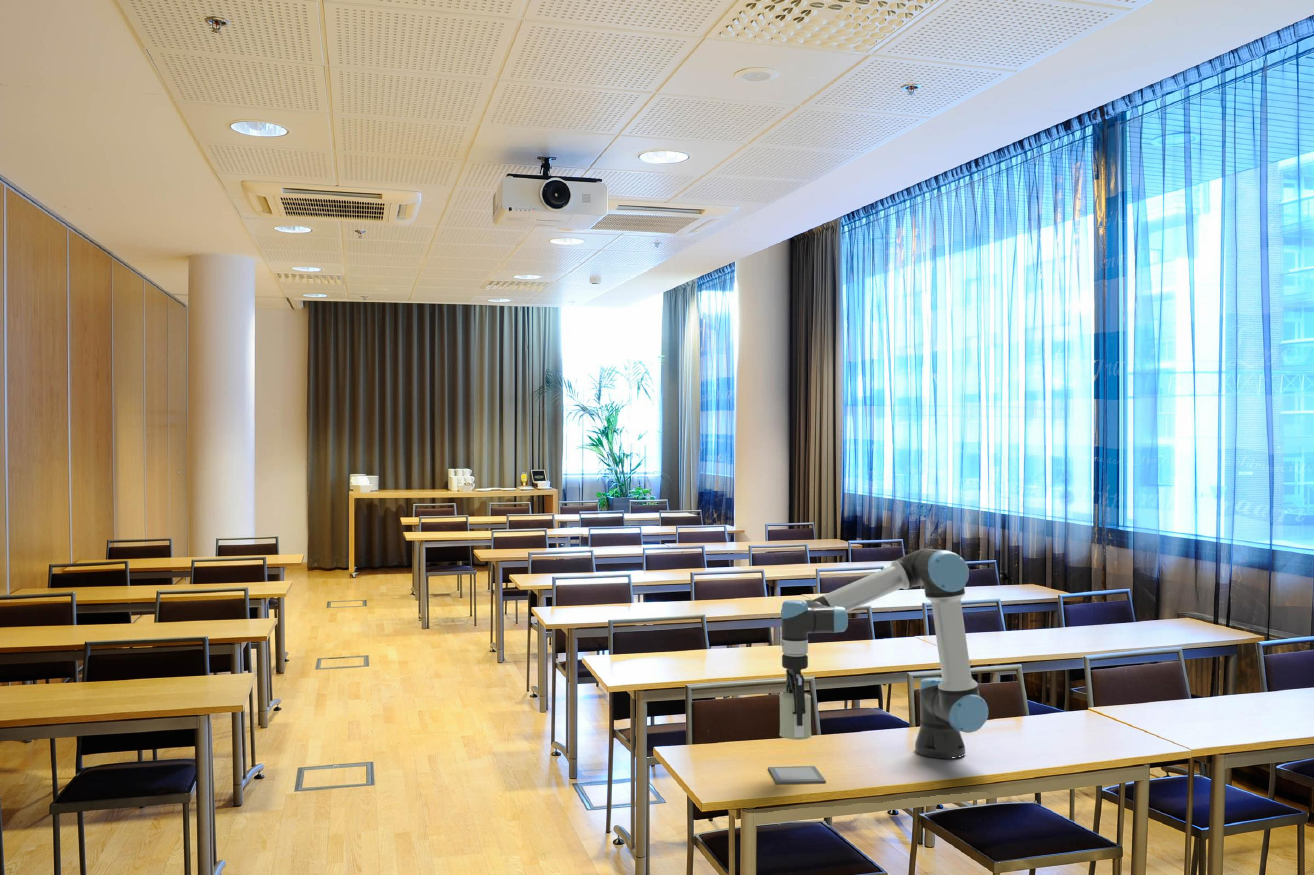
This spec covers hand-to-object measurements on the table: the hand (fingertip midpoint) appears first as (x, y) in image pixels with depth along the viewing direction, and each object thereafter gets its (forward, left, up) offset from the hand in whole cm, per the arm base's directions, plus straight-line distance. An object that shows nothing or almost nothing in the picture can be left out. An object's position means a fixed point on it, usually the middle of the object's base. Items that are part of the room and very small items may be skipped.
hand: (795, 732), depth 274 cm
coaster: (0, 0, -13) cm, 13 cm away
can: (0, 0, -1) cm, 1 cm away
